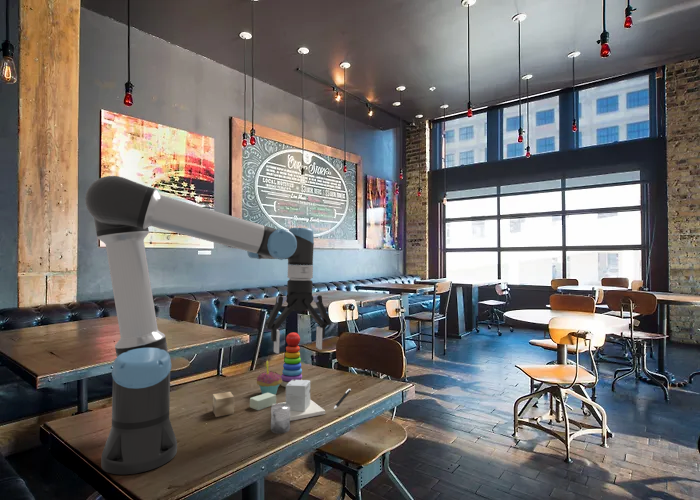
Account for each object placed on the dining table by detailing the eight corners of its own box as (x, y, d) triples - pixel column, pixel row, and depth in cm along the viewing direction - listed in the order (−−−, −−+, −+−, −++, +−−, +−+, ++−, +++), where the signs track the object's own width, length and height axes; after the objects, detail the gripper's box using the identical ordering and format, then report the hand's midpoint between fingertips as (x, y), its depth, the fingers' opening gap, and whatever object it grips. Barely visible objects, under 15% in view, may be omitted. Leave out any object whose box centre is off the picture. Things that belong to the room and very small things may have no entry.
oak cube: (215, 417, 115) (216, 399, 115) (212, 411, 119) (213, 394, 119) (233, 414, 117) (233, 396, 117) (229, 408, 122) (230, 391, 122)
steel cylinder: (274, 434, 103) (274, 411, 104) (268, 427, 108) (268, 405, 108) (292, 431, 106) (293, 408, 106) (286, 424, 110) (286, 402, 110)
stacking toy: (301, 388, 140) (302, 334, 141) (278, 388, 140) (279, 334, 141) (304, 381, 148) (304, 330, 149) (282, 381, 148) (283, 330, 149)
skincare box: (305, 411, 116) (305, 386, 117) (284, 410, 117) (285, 385, 118) (310, 404, 122) (310, 380, 123) (291, 403, 123) (291, 378, 124)
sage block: (258, 411, 120) (258, 401, 120) (249, 408, 122) (249, 398, 123) (276, 404, 125) (276, 395, 125) (267, 401, 128) (267, 392, 128)
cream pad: (286, 421, 112) (286, 418, 112) (272, 407, 122) (272, 404, 122) (325, 414, 118) (325, 410, 118) (308, 401, 128) (308, 398, 128)
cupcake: (275, 398, 130) (276, 361, 130) (251, 396, 132) (252, 359, 132) (285, 390, 138) (285, 355, 139) (262, 388, 140) (262, 353, 140)
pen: (351, 390, 140) (351, 387, 140) (335, 410, 121) (335, 406, 121) (349, 390, 140) (349, 387, 140) (332, 410, 121) (332, 406, 122)
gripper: (263, 280, 112) (260, 357, 111) (342, 279, 124) (340, 349, 123) (255, 278, 118) (253, 351, 117) (331, 278, 130) (330, 344, 130)
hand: (298, 350), depth 120 cm, fingers open, 13 cm apart
